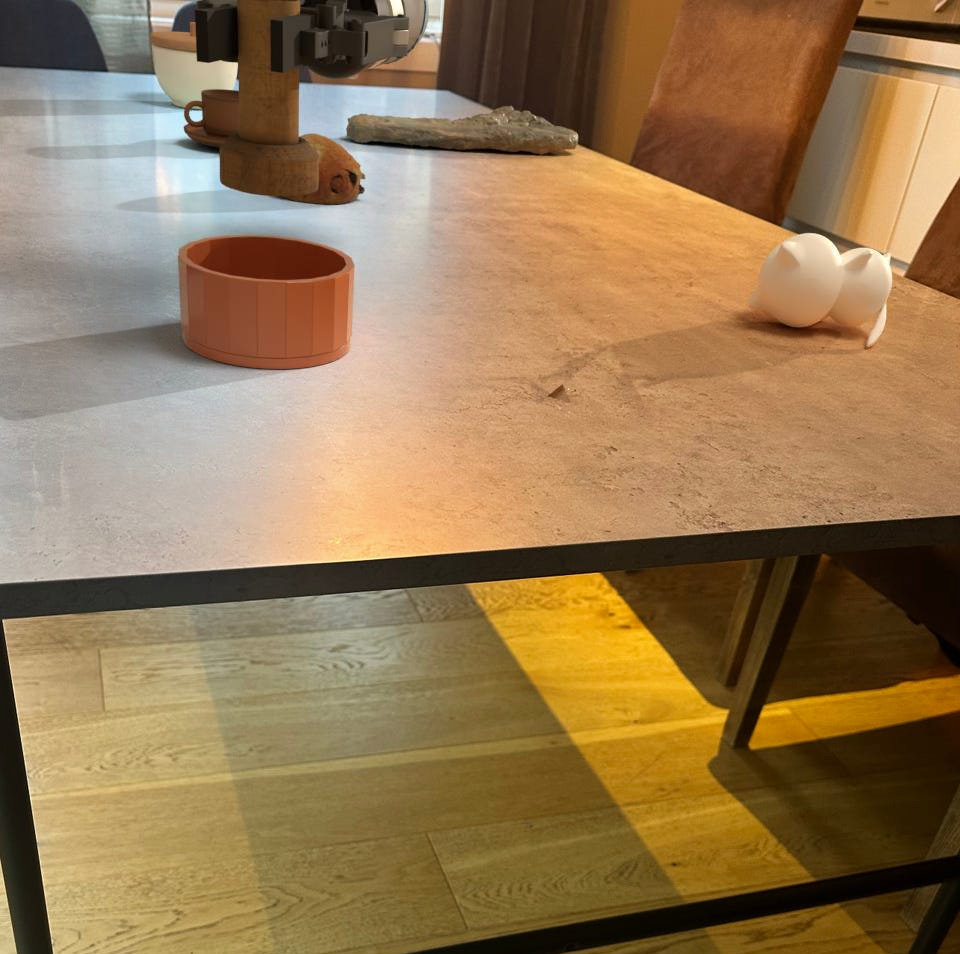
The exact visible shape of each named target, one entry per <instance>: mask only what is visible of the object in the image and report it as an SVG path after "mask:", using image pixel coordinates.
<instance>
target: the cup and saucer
mask: <svg viewBox="0 0 960 954" xmlns="http://www.w3.org/2000/svg"><path fill="white" fill-rule="evenodd" d="M201 98H202V101H191V102H189V103H188V104H187V105H186V107H185V108H184V110H183V115H184V120H185V122H186V124H184V125H183V131H184V133H185V134H186V135H187V136H188V138H190V139H191V140H192V141H194V142H196V143H199V144H200V145H204V146H208V147H210V148H211V147H212V148H216V149H220V145H221V144H222V143H224V142H225V141H226V140H227V139H228V138H229V136H230V135H232V134H234V133H239V90H236V89H233V90H225V89H209V90H203V91H201ZM195 106H197V107H200V108H202V110H201V116H202V119H200V120H198V121H194V120H193V119H192V118H191V116H190V111H191V110H192V109H191V108H192V107H195Z"/></svg>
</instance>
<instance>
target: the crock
mask: <svg viewBox="0 0 960 954" xmlns="http://www.w3.org/2000/svg"><path fill="white" fill-rule="evenodd" d="M177 267H178V268H177V269H178V285H179V286H178V287H179V288H178V289H179V306H180V307H179V308H180V309H179V310H180V328H181V338H182V342H183V343H184V345H185V346H186V347H187V348H188V349H189V350H191V351H192V352H193V353H195V354H197V355H199V356H201V357H204V358H206V359H209V360H212V361H216V362H219V363H223V364H227V365H232V366H237V367H244V368H252V369H261V370H262V369H263V370H264V369H265V370H266V369H267V370H290V369H291V370H292V369H303V368H311V367H317V366H321V365H326V364H328V363H332V362H335V361H337V360H339V359H341V358H342V357H345V355H346V354H348V353H349V351H350V349H351V345H352V337H353V319H354V318H353V317H354V313H353V312H354V292H355V291H354V290H355V267H356V266H355V263H354V261H353V259H352V256H350V255H348V254H346V253H345V252H344V251H342V250H340V249H337V248H334V247H332V246H329V245H326V244H323V243H320V242H314V241H310V240H307V239H306V240H305V239H301V238H294V237H286V236H279V235H277V236H276V235H266V234H265V235H264V234H226V235H218V236H211V237H210V236H209V237H203V238H200V239H199V238H198V239H196V240H193V241H190V242H187V243H185V244H184V245H182V246H181V247H180V248H178V251H177Z"/></svg>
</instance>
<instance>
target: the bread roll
mask: <svg viewBox="0 0 960 954" xmlns="http://www.w3.org/2000/svg"><path fill="white" fill-rule="evenodd" d="M299 137H301V138H303V139H305V140H307V141H308V143H309V144H310V146H311V147H312V148H313V149H314V150H315V151H316V152H317V153H318V155H319V186H318V190H317V191H316V192H314V193H311V194H307V195H300V196H279V197H280V198H284V199H287V200H291V201H293V202H301V203H302V202H303V203H309V204H319V205H343V204H347V203H351V202H353V201H356V200H357V199H358V198H359V195H363V194H364V193H365V189H366V188H365V187H364V186H362V184H361V180H366V178H367V177H366V174H365V173H363V172H362V170H361V166H362V165H361V163H360V162H358V161H357V160H356V159H355V158H354V156H353V155H352V154H350V153H349V152H348V151H347V150H346V149H345V148H344V147H343V146H342V145H340V143H337V141H334V140H332V139H330V138H329V137H327V136H325V135H321V134H318V133H315V132H314V133H313V132H312V133H306V134H302V135H299Z"/></svg>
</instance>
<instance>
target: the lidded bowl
mask: <svg viewBox="0 0 960 954" xmlns="http://www.w3.org/2000/svg"><path fill="white" fill-rule="evenodd" d="M149 42H150V44H151V56H152V62H153V64H152V65H153V70H154V73H155V77H156V80H157V82H158V84H159V86H160V88H161V90H162V91H163V92H164V94H165V95H166V96H167V97H168V99H170V100H171V102H172V105H173V106H176V107H179V108H184V109H185V107H186V105H187V104H188V103H189V102H191V101H202V98H201V91H203V90H209V89H225V90H235V86H236V82H237V77H238V63H234V62H225V61H221V60H220V61H215V62H211V63H205V62H197V52H196V27H195V22H193V21H190V22H189V32H187V31H154V32H151V33H150V35H149ZM190 110H200V111H202V108H200V107H197V106H195V107H192V108H191V109H190Z"/></svg>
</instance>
